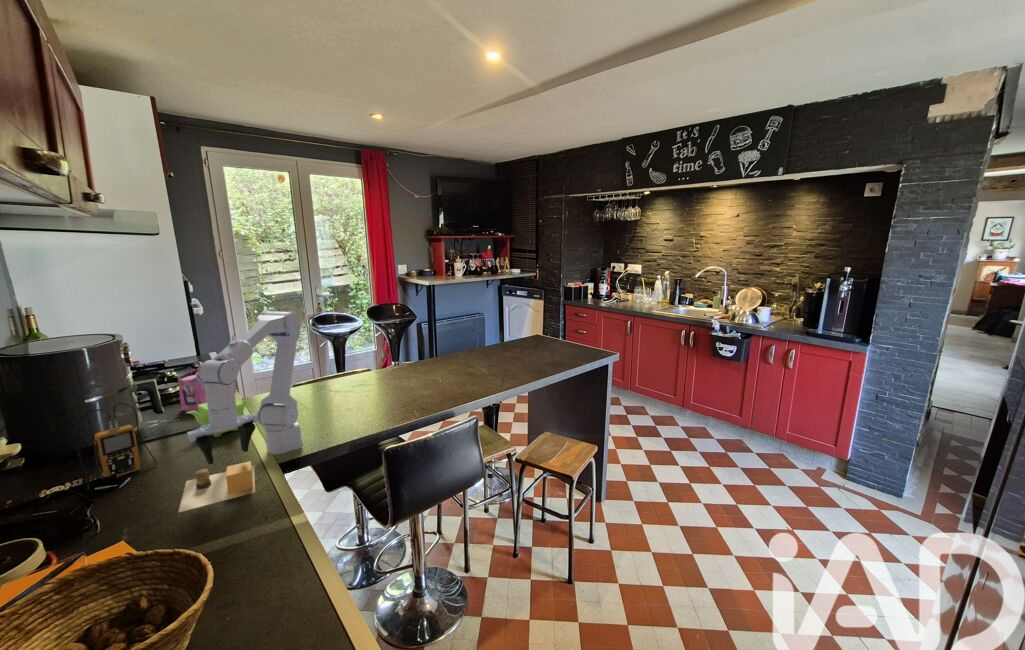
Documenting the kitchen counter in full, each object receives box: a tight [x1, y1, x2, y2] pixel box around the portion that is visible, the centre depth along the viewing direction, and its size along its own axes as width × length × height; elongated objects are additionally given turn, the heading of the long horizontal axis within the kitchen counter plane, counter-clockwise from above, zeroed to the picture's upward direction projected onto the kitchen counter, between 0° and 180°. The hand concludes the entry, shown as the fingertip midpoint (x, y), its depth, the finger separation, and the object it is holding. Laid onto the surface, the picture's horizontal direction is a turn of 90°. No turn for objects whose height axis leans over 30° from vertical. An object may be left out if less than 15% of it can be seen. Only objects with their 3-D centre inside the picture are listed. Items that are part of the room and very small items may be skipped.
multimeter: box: [76, 402, 158, 491], centre depth 105 cm, size 15×10×20 cm
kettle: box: [185, 399, 248, 438], centre depth 134 cm, size 15×14×11 cm
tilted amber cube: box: [225, 460, 253, 494], centre depth 101 cm, size 5×5×5 cm
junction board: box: [177, 464, 256, 514], centre depth 101 cm, size 15×15×6 cm
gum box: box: [177, 367, 238, 412], centre depth 160 cm, size 24×8×14 cm, turn 5°
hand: (228, 456), depth 101 cm, fingers open, 7 cm apart
